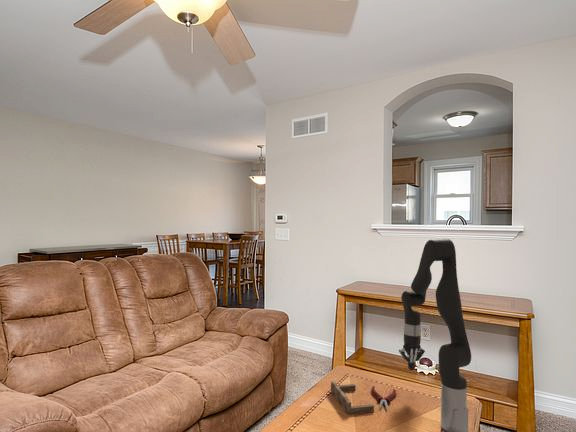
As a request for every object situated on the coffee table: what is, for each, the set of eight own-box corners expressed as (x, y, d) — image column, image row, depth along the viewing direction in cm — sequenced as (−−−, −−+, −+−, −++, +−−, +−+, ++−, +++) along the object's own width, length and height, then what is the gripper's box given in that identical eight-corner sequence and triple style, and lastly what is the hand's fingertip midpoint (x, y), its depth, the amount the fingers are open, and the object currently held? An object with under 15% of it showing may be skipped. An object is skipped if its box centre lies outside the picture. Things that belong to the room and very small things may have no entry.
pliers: (369, 410, 154) (370, 404, 154) (371, 390, 174) (371, 384, 174) (397, 415, 151) (397, 408, 151) (396, 393, 171) (396, 388, 171)
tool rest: (373, 411, 153) (374, 400, 153) (347, 414, 150) (347, 402, 150) (354, 389, 173) (354, 378, 173) (330, 391, 170) (330, 380, 170)
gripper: (403, 336, 163) (403, 374, 163) (429, 334, 166) (428, 372, 166) (395, 331, 171) (394, 367, 171) (420, 329, 174) (419, 365, 174)
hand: (411, 369), depth 169 cm, fingers closed
